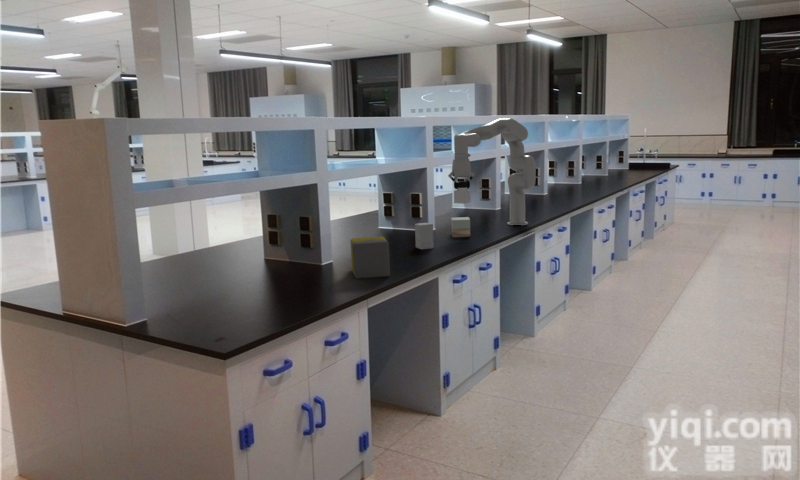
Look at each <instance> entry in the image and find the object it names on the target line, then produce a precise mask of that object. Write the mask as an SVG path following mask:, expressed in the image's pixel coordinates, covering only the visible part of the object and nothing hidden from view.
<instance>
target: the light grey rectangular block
mask: <svg viewBox="0 0 800 480" xmlns="http://www.w3.org/2000/svg"><path fill="white" fill-rule="evenodd" d="M457 184H458V189H454V190H453V204H465V205H466V204H470V203H471V202H472V201H471V189H468V188H467V182H466V180H465V181H464V180H462V181H461V180H460V181H457Z"/></svg>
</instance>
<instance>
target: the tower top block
mask: <svg viewBox="0 0 800 480" xmlns="http://www.w3.org/2000/svg"><path fill="white" fill-rule="evenodd" d="M450 223H451V224H450V225H451V230H452V229H467V228H470V229H471V219H470V217H469V216H461V217H457V216H456V217H450Z"/></svg>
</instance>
